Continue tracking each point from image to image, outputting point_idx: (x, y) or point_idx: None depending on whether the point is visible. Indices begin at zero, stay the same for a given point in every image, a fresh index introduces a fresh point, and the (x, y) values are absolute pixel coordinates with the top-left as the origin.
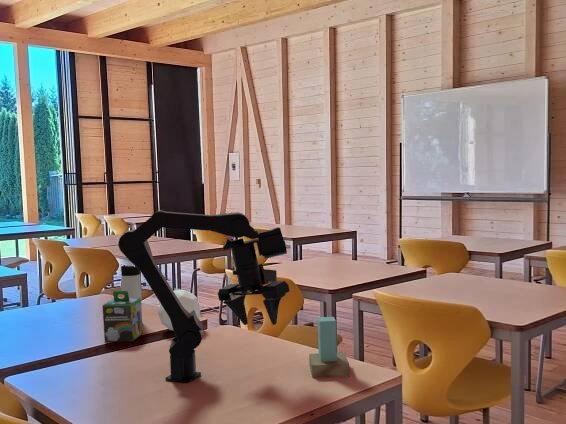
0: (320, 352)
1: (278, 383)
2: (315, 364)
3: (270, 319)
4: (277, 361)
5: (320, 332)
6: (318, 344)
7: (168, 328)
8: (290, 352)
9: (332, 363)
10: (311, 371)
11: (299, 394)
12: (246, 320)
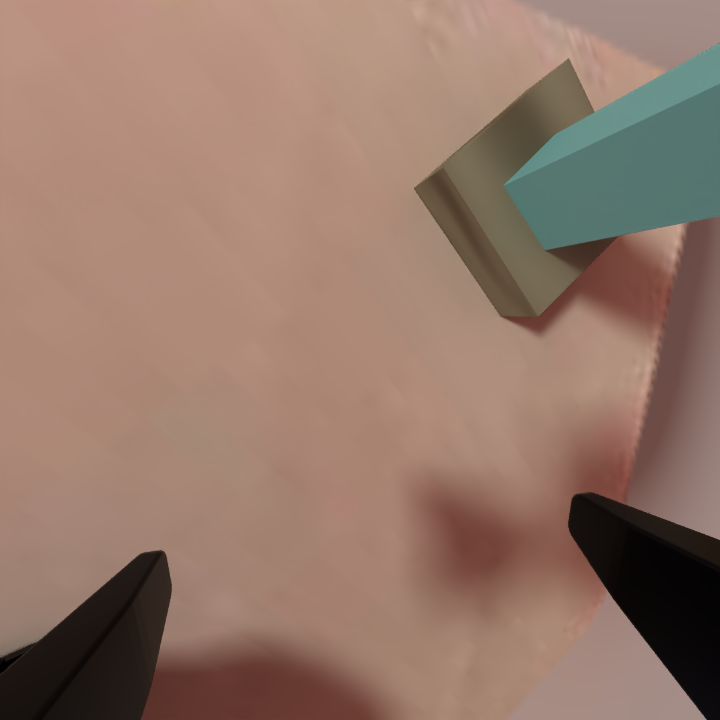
0: (580, 240)
1: (436, 447)
2: (543, 297)
3: (627, 609)
4: (242, 218)
5: (711, 216)
6: (556, 165)
7: None
8: (185, 20)
9: (591, 242)
10: (491, 288)
11: (545, 471)
12: (150, 597)
